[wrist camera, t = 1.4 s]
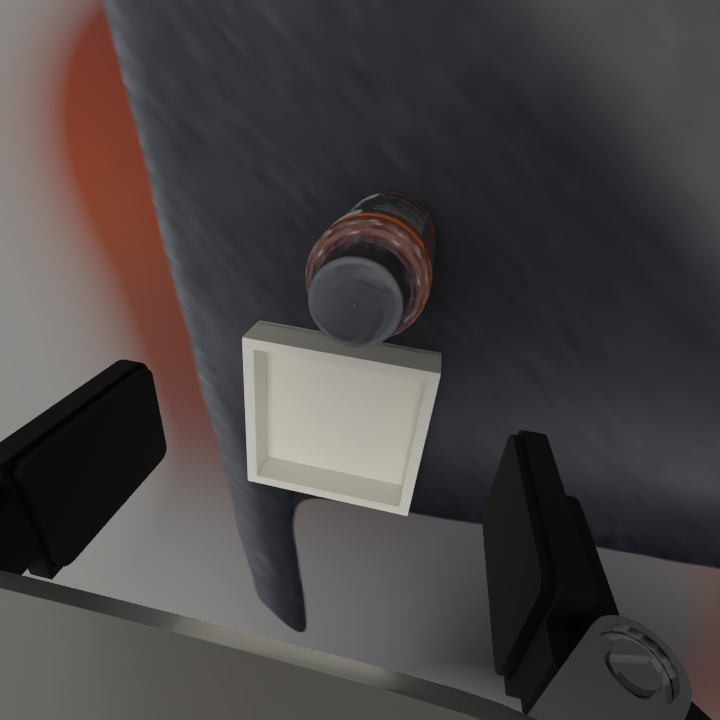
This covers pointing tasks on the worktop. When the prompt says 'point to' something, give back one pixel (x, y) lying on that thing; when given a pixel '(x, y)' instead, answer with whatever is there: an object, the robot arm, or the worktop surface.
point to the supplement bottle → (372, 270)
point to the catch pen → (336, 415)
